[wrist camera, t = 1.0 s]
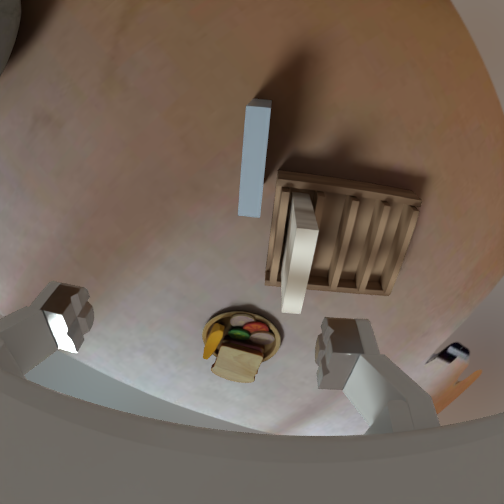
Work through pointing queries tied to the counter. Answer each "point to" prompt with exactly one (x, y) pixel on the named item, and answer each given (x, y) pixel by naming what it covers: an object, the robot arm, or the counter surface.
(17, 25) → the ceramic pot
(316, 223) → the rack
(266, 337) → the toy sandwich meal
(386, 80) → the counter surface
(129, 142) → the counter surface
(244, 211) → the grey upright panel
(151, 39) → the counter surface
